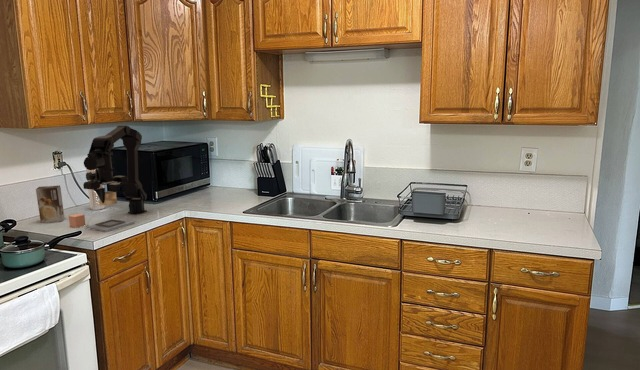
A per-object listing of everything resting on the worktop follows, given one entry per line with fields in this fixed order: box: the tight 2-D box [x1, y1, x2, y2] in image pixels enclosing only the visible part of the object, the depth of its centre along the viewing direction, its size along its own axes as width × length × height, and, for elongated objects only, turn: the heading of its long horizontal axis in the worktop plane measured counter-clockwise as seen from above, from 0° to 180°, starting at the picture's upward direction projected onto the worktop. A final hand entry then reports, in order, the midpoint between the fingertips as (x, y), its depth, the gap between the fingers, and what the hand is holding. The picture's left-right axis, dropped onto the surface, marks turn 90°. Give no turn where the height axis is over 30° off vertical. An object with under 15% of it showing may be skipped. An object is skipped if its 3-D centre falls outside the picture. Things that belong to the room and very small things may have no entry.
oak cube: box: [99, 190, 118, 207], centre depth 209 cm, size 5×5×5 cm
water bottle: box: [85, 167, 106, 211], centre depth 241 cm, size 7×7×25 cm
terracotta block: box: [68, 213, 86, 229], centre depth 211 cm, size 4×4×5 cm
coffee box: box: [35, 185, 66, 224], centre depth 219 cm, size 9×6×16 cm
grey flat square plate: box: [85, 218, 136, 233], centre depth 211 cm, size 15×13×1 cm
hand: (108, 201), depth 209 cm, fingers closed on oak cube, 5 cm apart
